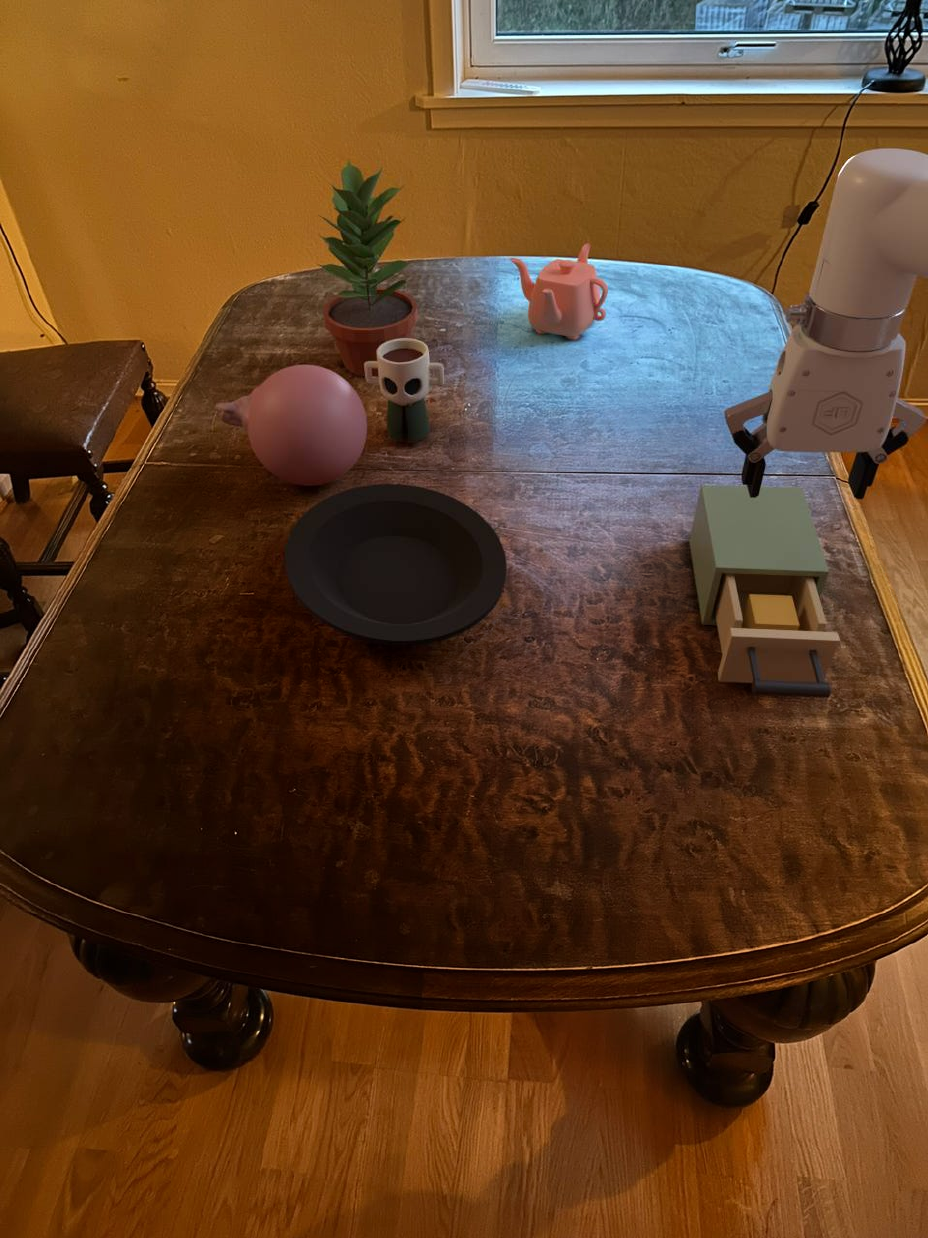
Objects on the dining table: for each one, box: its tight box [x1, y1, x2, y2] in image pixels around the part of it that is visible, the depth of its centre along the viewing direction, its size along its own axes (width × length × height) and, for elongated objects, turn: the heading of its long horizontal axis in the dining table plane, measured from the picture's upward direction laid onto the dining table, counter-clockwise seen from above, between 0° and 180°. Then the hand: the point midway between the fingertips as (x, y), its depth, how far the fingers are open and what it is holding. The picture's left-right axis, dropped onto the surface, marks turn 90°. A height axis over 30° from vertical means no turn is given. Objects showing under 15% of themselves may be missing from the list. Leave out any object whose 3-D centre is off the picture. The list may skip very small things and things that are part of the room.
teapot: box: [509, 242, 609, 340], centre depth 145 cm, size 14×14×11 cm
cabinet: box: [689, 484, 830, 626], centre depth 100 cm, size 15×12×9 cm
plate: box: [284, 483, 508, 647], centre depth 102 cm, size 28×24×6 cm
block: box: [741, 594, 800, 631], centre depth 93 cm, size 4×4×4 cm
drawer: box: [714, 573, 841, 699], centre depth 92 cm, size 19×10×7 cm, turn 175°
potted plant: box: [316, 158, 419, 377], centre depth 131 cm, size 15×15×30 cm
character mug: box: [364, 338, 445, 443], centre depth 122 cm, size 11×7×13 cm, turn 85°
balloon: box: [214, 364, 368, 487], centre depth 115 cm, size 15×20×15 cm
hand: (802, 489), depth 84 cm, fingers open, 9 cm apart
